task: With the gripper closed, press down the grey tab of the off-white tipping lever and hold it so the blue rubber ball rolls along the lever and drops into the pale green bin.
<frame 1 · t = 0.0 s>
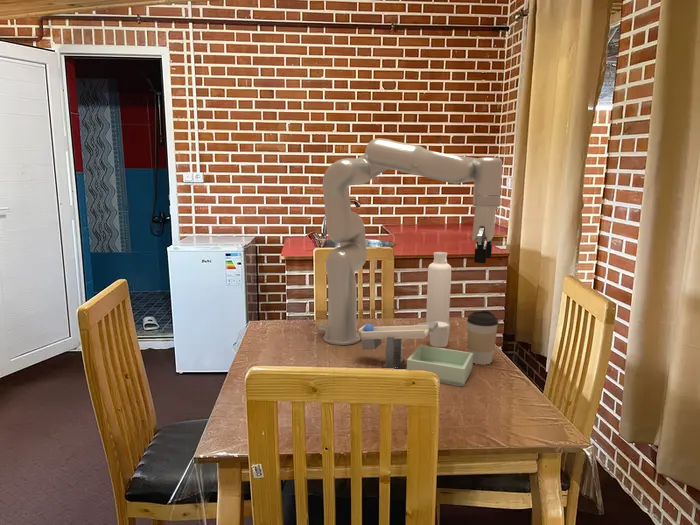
hand: (482, 259, 152), 31 cm above the table, tool pointing down, fingers open, 9 cm apart
bin: (440, 372, 148), on the table
shot glass: (438, 344, 171), on the table
lever: (399, 332, 155), point 9 cm above the table, hinge at -10.0°, touching ball
lever stand: (393, 364, 154), on the table
coffee cup: (480, 361, 158), on the table
ball: (368, 328, 155), point 10 cm above the table, tilted 17°, touching lever
bottle: (437, 330, 186), on the table
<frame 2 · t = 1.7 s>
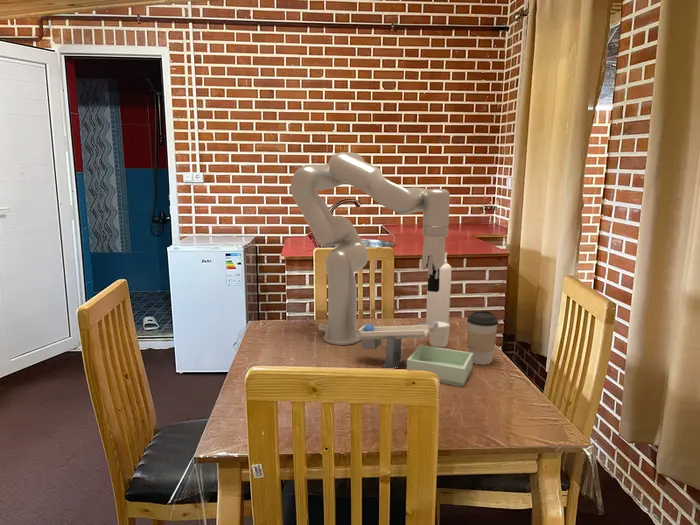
hand: (433, 290, 157), 21 cm above the table, tool pointing down, fingers closed
nothing on the table moved.
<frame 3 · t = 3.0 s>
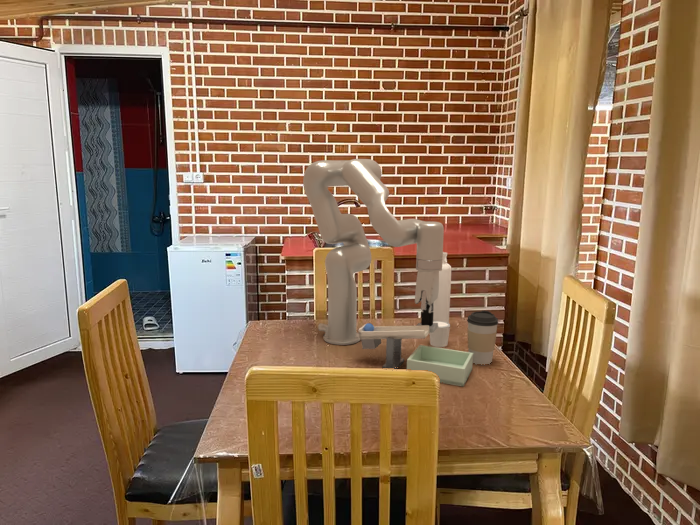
hand: (427, 324, 154), 12 cm above the table, tool pointing down, fingers closed
lever: (399, 332, 155), point 9 cm above the table, hinge at -9.2°, touching ball, gripper
everything else where it was.
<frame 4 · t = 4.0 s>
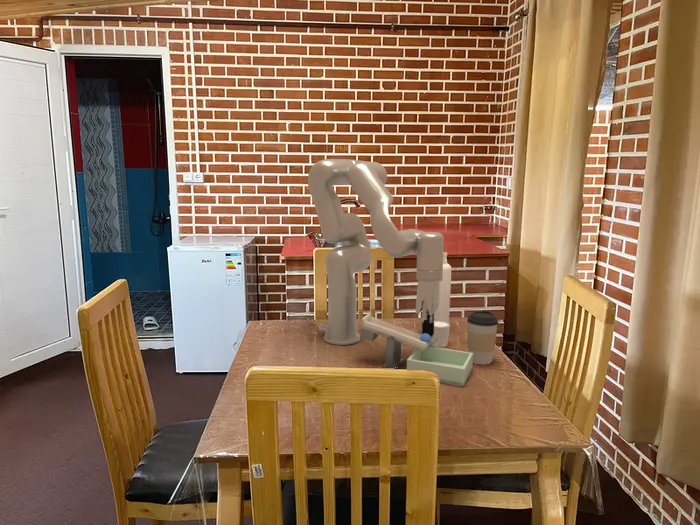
hand: (427, 334, 154), 9 cm above the table, tool pointing down, fingers closed
lever: (399, 333, 155), point 9 cm above the table, hinge at 11.8°, touching ball, gripper
ball: (425, 338, 148), point 10 cm above the table, tilted 77°, touching lever
everything else where it was.
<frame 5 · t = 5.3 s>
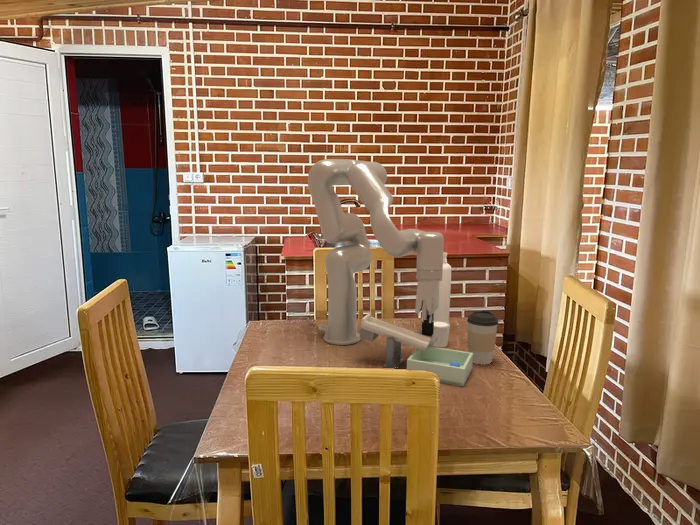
hand: (427, 334, 154), 9 cm above the table, tool pointing down, fingers closed
lever: (399, 333, 155), point 9 cm above the table, hinge at 11.9°, touching gripper
ball: (454, 366, 146), point 2 cm above the table, tilted 17°, touching bin
everything else where it was.
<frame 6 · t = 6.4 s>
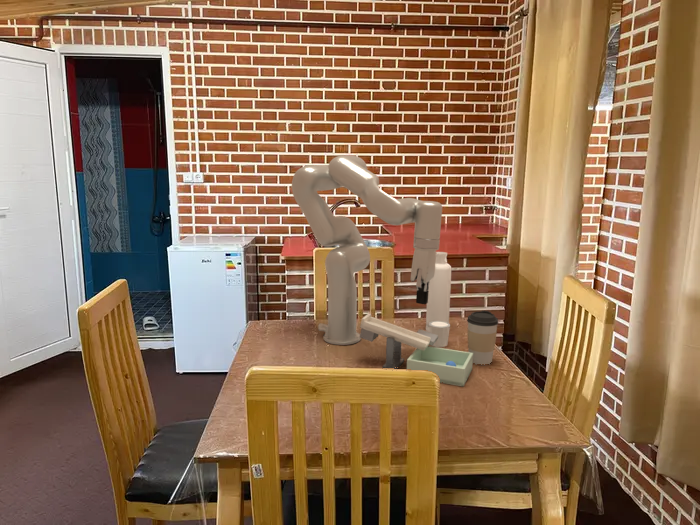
hand: (421, 303, 156), 17 cm above the table, tool pointing down, fingers closed
lever: (399, 333, 155), point 9 cm above the table, hinge at 11.9°
ball: (450, 366, 147), point 2 cm above the table, tilted 59°, touching bin
everything else where it was.
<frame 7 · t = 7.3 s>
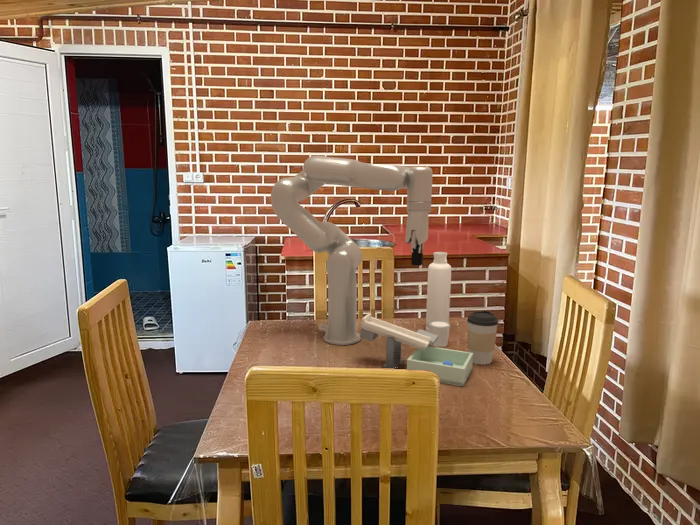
hand: (416, 264, 164), 27 cm above the table, tool pointing down, fingers closed
ball: (447, 365, 147), point 2 cm above the table, tilted 93°, touching bin
everything else where it was.
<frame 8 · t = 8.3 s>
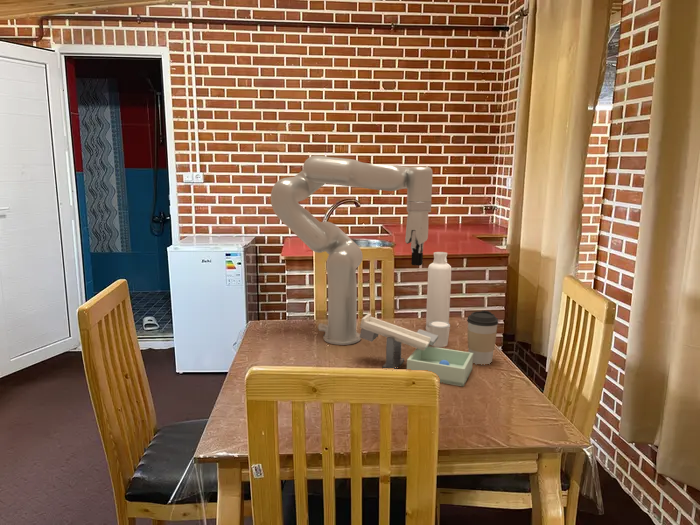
hand: (416, 264, 164), 27 cm above the table, tool pointing down, fingers closed
ball: (444, 365, 147), point 2 cm above the table, tilted 131°, touching bin
everything else where it was.
at the end: ball inside the target area on the bin (1.0 cm from its centre), point 2.5 cm above the bin's base; ball moved 23.9 cm from its start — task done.
